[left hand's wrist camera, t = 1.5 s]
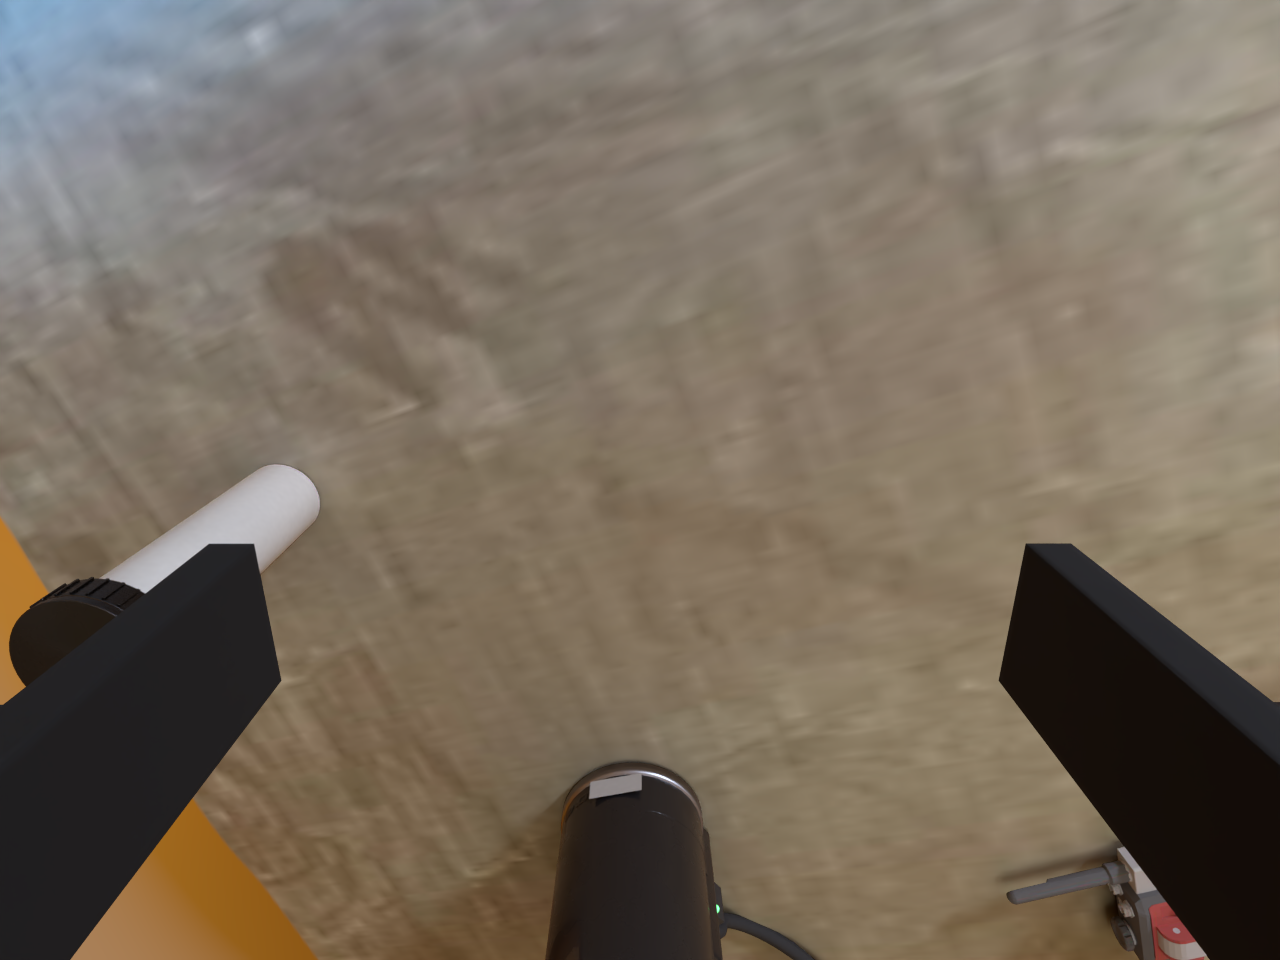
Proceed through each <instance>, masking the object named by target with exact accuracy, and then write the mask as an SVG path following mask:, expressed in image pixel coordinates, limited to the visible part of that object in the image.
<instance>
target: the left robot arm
mask: <svg viewBox="0 0 1280 960" xmlns="http://www.w3.org/2000/svg"><path fill="white" fill-rule="evenodd" d="M280 682H281V677H280V672H279V667H278V661H277V656H276V651H275V646H274V641H273V636H272V631H271V626H270V621H269V616H268V611H267V606H266V601H265V596H264V591H263V586H262V581H261V576H260V571H259V566H258V561H257V555H256V550H255V545H254V544H208V545H207V546H205V547H204V548H203V549H202V550H200V551H199V552H198V553H197V554H195V555H194V556H193V557H191V558H190V559H189V560H188V561H186V562H185V563H184V564H182V565H181V566H180V567H179V568H177V569H176V570H175V571H174V572H172V573H171V574H170V575H168V576H167V577H166V578H165V579H163V580H162V581H161V582H159V583H158V584H157V585H156V586H154V587H153V588H152V589H151V590H149V591H148V592H147V593H145V594H144V595H143V596H142V597H140V598H139V599H138V600H136V601H135V602H134V603H133V604H131V605H130V606H129V607H128V608H126V609H125V610H124V611H122V612H121V613H120V614H119V615H117V616H116V617H115V618H113V619H112V620H111V621H110V622H108V623H107V624H106V625H105V626H103V627H102V628H101V629H99V630H98V631H97V632H96V633H94V634H93V635H92V636H90V637H89V638H88V639H87V640H85V641H84V642H83V643H82V644H80V645H79V646H78V647H76V648H75V649H74V650H73V651H71V652H70V653H69V654H67V655H66V656H65V657H64V658H62V659H61V660H60V661H59V662H57V663H56V664H55V665H53V666H52V667H51V668H50V669H48V670H47V671H46V672H44V673H43V674H42V675H41V676H39V677H38V678H37V679H36V680H34V681H33V682H32V683H30V684H29V685H28V686H27V687H25V688H24V689H23V690H21V691H20V692H19V693H18V694H16V695H15V696H14V697H13V698H11V699H10V700H9V701H8V702H6V703H5V704H4V705H0V960H70V959H71V958H72V957H73V955H74V954H75V953H76V951H77V950H78V949H79V947H80V946H81V945H82V943H83V942H84V941H85V939H86V938H87V937H88V935H89V934H90V933H91V931H92V930H93V929H94V927H95V926H96V925H97V923H98V922H99V921H100V919H101V918H102V917H103V916H104V914H105V913H106V912H107V910H108V909H109V908H110V906H111V905H112V904H113V902H114V901H115V900H116V898H117V897H118V896H119V894H120V893H121V892H122V890H123V889H124V888H125V886H126V885H127V884H128V882H129V881H130V880H131V879H132V877H133V876H134V875H135V873H136V872H137V871H138V869H139V868H140V867H141V865H142V864H143V863H144V861H145V860H146V859H147V857H148V856H149V855H150V853H151V852H152V851H153V849H154V848H155V847H156V845H157V844H158V843H159V841H160V840H161V839H162V837H163V836H164V835H165V834H166V832H167V831H168V830H169V828H170V827H171V826H172V824H173V823H174V822H175V820H176V819H177V818H178V816H179V815H180V814H181V812H182V811H183V810H184V808H185V807H186V806H187V804H188V803H189V802H190V800H191V799H192V798H193V797H194V795H195V794H196V793H197V791H198V790H199V789H200V787H201V786H202V785H203V783H204V782H205V781H206V779H207V778H208V777H209V775H210V774H211V773H212V771H213V770H214V769H215V768H216V766H217V765H218V764H219V762H220V761H221V760H222V758H223V757H224V756H225V754H226V753H227V752H228V750H229V749H230V748H231V746H232V745H233V744H234V742H235V741H236V740H237V738H238V737H239V736H240V734H241V733H242V732H243V730H244V729H245V728H246V727H247V725H248V724H249V723H250V721H251V720H252V719H253V717H254V716H255V715H256V713H257V712H258V711H259V709H260V708H261V707H262V705H263V704H264V703H265V701H266V700H267V699H268V697H269V696H270V695H271V693H272V692H273V691H274V690H275V688H276V687H277V686H278V684H279V683H280ZM999 682H1000V683H1001V684H1002V686H1003V687H1004V688H1005V690H1006V691H1007V692H1008V693H1009V695H1010V696H1011V697H1012V699H1013V700H1014V701H1015V703H1016V704H1017V705H1018V707H1019V708H1020V709H1021V711H1022V712H1023V713H1024V715H1025V716H1026V717H1027V719H1028V720H1029V721H1030V723H1031V724H1032V725H1033V727H1034V728H1035V729H1036V730H1037V732H1038V733H1039V734H1040V736H1041V737H1042V738H1043V740H1044V741H1045V742H1046V744H1047V745H1048V746H1049V748H1050V749H1051V750H1052V752H1053V753H1054V754H1055V756H1056V757H1057V758H1058V760H1059V761H1060V762H1061V764H1062V765H1063V766H1064V768H1065V769H1066V770H1067V771H1068V773H1069V774H1070V775H1071V777H1072V778H1073V779H1074V781H1075V782H1076V783H1077V785H1078V786H1079V787H1080V789H1081V790H1082V791H1083V793H1084V794H1085V795H1086V797H1087V798H1088V799H1089V801H1090V802H1091V803H1092V805H1093V806H1094V807H1095V808H1096V810H1097V811H1098V812H1099V814H1100V815H1101V816H1102V818H1103V819H1104V820H1105V822H1106V823H1107V824H1108V826H1109V827H1110V828H1111V830H1112V831H1113V832H1114V834H1115V835H1116V836H1117V838H1118V839H1119V840H1120V842H1121V843H1122V844H1123V845H1124V847H1125V848H1126V849H1127V851H1128V852H1129V853H1130V855H1131V856H1132V857H1133V859H1134V860H1135V861H1136V863H1137V864H1138V865H1139V867H1140V868H1141V869H1142V871H1143V872H1144V873H1145V875H1146V876H1147V877H1148V879H1149V880H1150V881H1151V883H1152V884H1153V885H1154V886H1155V888H1156V889H1157V890H1158V892H1159V893H1160V894H1161V896H1162V897H1163V898H1164V900H1165V901H1166V902H1167V904H1168V905H1169V906H1170V908H1171V909H1172V910H1173V912H1174V913H1175V914H1176V916H1177V917H1178V918H1179V920H1180V921H1181V922H1182V923H1183V925H1184V926H1185V927H1186V929H1187V930H1188V931H1189V933H1190V934H1191V935H1192V937H1193V938H1194V939H1195V941H1196V942H1197V943H1198V945H1199V946H1200V947H1201V949H1202V950H1203V951H1204V953H1205V954H1206V955H1207V957H1208V958H1209V959H1210V960H1280V702H1273V701H1271V700H1270V699H1269V698H1267V697H1266V696H1265V695H1264V694H1262V693H1261V692H1260V691H1259V690H1257V689H1256V688H1255V687H1253V686H1252V685H1251V684H1250V683H1248V682H1247V681H1246V680H1244V679H1243V678H1242V677H1241V676H1239V675H1238V674H1237V673H1236V672H1234V671H1233V670H1232V669H1230V668H1229V667H1228V666H1227V665H1225V664H1224V663H1223V662H1221V661H1220V660H1219V659H1218V658H1216V657H1215V656H1214V655H1213V654H1211V653H1210V652H1209V651H1207V650H1206V649H1205V648H1204V647H1202V646H1201V645H1200V644H1198V643H1197V642H1196V641H1195V640H1193V639H1192V638H1191V637H1190V636H1188V635H1187V634H1186V633H1184V632H1183V631H1182V630H1181V629H1179V628H1178V627H1177V626H1175V625H1174V624H1173V623H1172V622H1170V621H1169V620H1168V619H1167V618H1165V617H1164V616H1163V615H1161V614H1160V613H1159V612H1158V611H1156V610H1155V609H1154V608H1152V607H1151V606H1150V605H1149V604H1147V603H1146V602H1145V601H1144V600H1142V599H1141V598H1140V597H1138V596H1137V595H1136V594H1135V593H1133V592H1132V591H1131V590H1129V589H1128V588H1127V587H1126V586H1124V585H1123V584H1122V583H1121V582H1119V581H1118V580H1117V579H1115V578H1114V577H1113V576H1112V575H1110V574H1109V573H1108V572H1106V571H1105V570H1104V569H1103V568H1101V567H1100V566H1099V565H1098V564H1096V563H1095V562H1094V561H1092V560H1091V559H1090V558H1089V557H1087V556H1086V555H1085V554H1083V553H1082V552H1081V551H1080V550H1078V549H1077V548H1076V547H1075V546H1073V545H1072V544H1026V545H1025V550H1024V555H1023V561H1022V566H1021V571H1020V576H1019V581H1018V586H1017V591H1016V596H1015V601H1014V606H1013V611H1012V616H1011V621H1010V626H1009V631H1008V636H1007V641H1006V646H1005V651H1004V656H1003V661H1002V667H1001V672H1000V677H999Z"/></svg>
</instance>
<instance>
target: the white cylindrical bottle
mask: <svg viewBox="0 0 1280 960" xmlns="http://www.w3.org/2000/svg"><path fill="white" fill-rule="evenodd" d="M319 509H320V499H319V495H318V492H317V490H316V488H315V486H314V484H313V483H312V482H311V480H310V479H309V478H308V477H307V476H306V475H304V474H303V473H302V472H300V471H299V470H297V469H295V468H292V467H290V466H286V465H279V464H273V465H267V466H264V467H261V468H259V469H258V470H256V471H255V472H253V473H252V474H250V475H249V476H247V477H246V478H244V479H243V480H241V481H240V482H239V483H237V484H236V485H234V486H233V487H231V488H230V489H228V490H227V491H226V492H224V493H223V494H221V495H220V496H218V497H217V498H215V499H214V500H212V501H211V502H210V503H208V504H207V505H205V506H204V507H202V508H201V509H199V510H198V511H196V512H195V513H194V514H192V515H191V516H189V517H188V518H186V519H185V520H183V521H182V522H180V523H179V524H178V525H176V526H175V527H173V528H172V529H170V530H169V531H167V532H166V533H164V534H163V535H162V536H160V537H159V538H157V539H156V540H154V541H153V542H151V543H150V544H148V545H147V546H146V547H144V548H143V549H141V550H140V551H138V552H137V553H135V554H134V555H132V556H131V557H130V558H128V559H127V560H125V561H124V562H122V563H121V564H119V565H118V566H116V567H115V568H114V569H112V570H111V571H109V572H108V573H106V574H105V575H103V576H102V577H100V578H99V579H106V578H109V579H110V580H114V581H118V582H121V583H122V582H124V583H125V584H127V585H130V586H132V587H134V588H137V589H140V591H142V592H144V593H147V592H148V591H149V590H151V589H152V588H153V587H154V586H156V585H157V584H158V583H159V582H161V581H162V580H163V579H165V578H166V577H167V576H168V575H170V574H171V573H172V572H174V571H175V570H176V569H177V568H179V567H180V566H181V565H182V564H184V563H185V562H186V561H188V560H189V559H190V558H191V557H193V556H194V555H195V554H197V553H198V552H199V551H200V550H202V549H203V548H204V547H205V546H207V545H208V544H254V545H255V550H256V555H257V561H258V566H259V571H260V574H261V573H262V572H263V571H264V570H265V569H266V568H267V567H268V566H269V565H270V564H271V563H272V562H274V561H275V560H276V559H277V558H278V557H279V556H280V555H281V554H282V553H283V552H284V551H285V550H286V549H287V548H288V547H289V546H290V545H291V544H292V543H293V542H294V541H295V540H296V539H297V538H298V537H299V536H300V535H301V534H302V533H303V532H304V531H306V530H307V529H308V528H309V527H310V526H311V525H312V524H313V522H314V521H315V520H316V518H317V516H318V513H319Z"/></svg>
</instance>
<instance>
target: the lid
mask: <svg viewBox="0 0 1280 960" xmlns="http://www.w3.org/2000/svg"><path fill="white" fill-rule="evenodd" d="M144 594H145V593H144V592H142V591H140V589H137V588H134V587H132V586H130V585H127V584H125V583H124V582H122V583H121V582H118V581H114V580H110V579H109V578H106V579H94V577H91V578H89V579H85V580H79V579H76V580H74V581H73V582H71V583H70V584H68V585H67V584H66V583H65V584H63V585H61V586H60V587H58V588H57V589H55V590H54V591H52V592H51V593H49V594H48V595H46V596H45V597H43V598H42V599H40V600H39V601H37V602H36V603H34V604H33V605H31V606H30V609H29V610H27V611H26V612H25V613H24V614H23V615H21V617H20V618H19V619H18V620H17V621H16V623H15V625H14V627H13V629H12V632H11V635H10V641H9V652H10V657H11V661H12V664H13V667H14V669H15V671H16V673H17V675H18V676H19V678H20V679H21V681H22V682H23V683H24V685H25V686H26V687H27V686H28V685H29V684H30V683H32V682H33V681H34V680H36V679H37V678H38V677H39V676H41V675H42V674H43V673H44V672H46V671H47V670H48V669H50V668H51V667H52V666H53V665H55V664H56V663H57V662H59V661H60V660H61V659H62V658H64V657H65V656H66V655H67V654H69V653H70V652H71V651H73V650H74V649H75V648H76V647H78V646H79V645H80V644H82V643H83V642H84V641H85V640H87V639H88V638H89V637H90V636H92V635H93V634H94V633H96V632H97V631H98V630H99V629H101V628H102V627H103V626H105V625H106V624H107V623H108V622H110V621H111V620H112V619H113V618H115V617H116V616H117V615H119V614H120V613H121V612H122V611H124V610H125V609H126V608H128V607H129V606H130V605H131V604H133V603H134V602H135V601H136V600H138V599H139V598H140V597H142V596H143V595H144Z"/></svg>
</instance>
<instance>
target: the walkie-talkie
mask: <svg viewBox="0 0 1280 960" xmlns="http://www.w3.org/2000/svg"><path fill="white" fill-rule="evenodd" d="M1117 856H1118V861H1113V862H1109V863H1105V864H1102V867H1098V868H1094V869H1089V870H1085V871H1081V872H1077V873H1072V874H1068V875H1064V876H1059V877H1055V878H1051V879H1047V882H1046V883H1042V884H1038V885H1034V886H1030V887H1025V888H1021V889H1017V890H1013V891H1010V892H1008V893H1007V898H1008V900H1009V901H1010V902H1011V903H1013V904H1021V903H1026V902H1030V901H1034V900H1039V899H1043V898H1048V897H1052V896H1056V895H1061V894H1065V893H1070V892H1074V891H1078V890H1083V889H1087V888H1091V887H1096V886H1100V885H1105V884H1108V887H1109V889H1110V891H1113V892H1112V893H1113V895H1116V898H1117V906H1118V913H1119V917H1118V916H1116V917H1112V918H1111V926H1112V929H1113V931H1114V934H1115V936H1116V938H1117V940H1118V941H1119V943H1120V945H1121V946H1122V947H1123V948H1124V949H1125V950H1126V951H1133V950H1134V952H1135V953H1136V955H1137V956H1138V958H1139V959H1140V960H1204V956H1207V955H1206V954H1205V953H1204V951H1203V950H1202V949H1201V947H1200V946H1199V945H1198V943H1197V942H1196V941H1195V939H1194V938H1193V937H1192V935H1191V934H1190V933H1189V931H1188V930H1187V929H1186V927H1185V926H1184V925H1183V923H1182V922H1181V921H1180V920H1179V918H1178V917H1177V916H1176V914H1175V913H1174V912H1173V910H1172V909H1171V908H1170V906H1169V905H1168V904H1167V902H1166V901H1165V900H1164V898H1163V897H1162V896H1161V894H1160V893H1159V892H1158V890H1157V889H1156V888H1155V886H1154V885H1153V884H1152V883H1151V881H1150V880H1149V879H1148V877H1147V876H1146V875H1145V873H1144V872H1143V871H1142V869H1141V868H1140V867H1139V865H1138V864H1137V863H1136V861H1135V860H1134V859H1133V857H1132V856H1131V855H1130V853H1129V852H1128V851H1127V849H1126V848H1125V847H1121V848H1117Z"/></svg>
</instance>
